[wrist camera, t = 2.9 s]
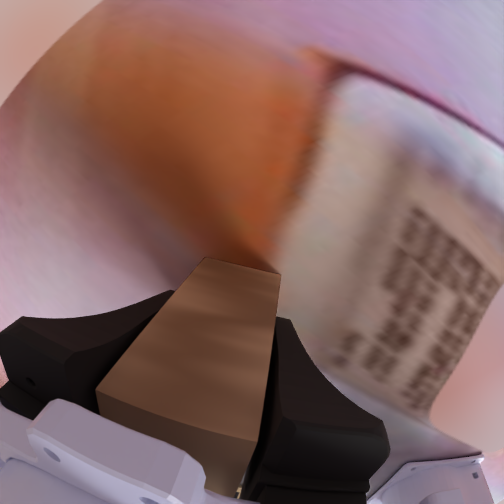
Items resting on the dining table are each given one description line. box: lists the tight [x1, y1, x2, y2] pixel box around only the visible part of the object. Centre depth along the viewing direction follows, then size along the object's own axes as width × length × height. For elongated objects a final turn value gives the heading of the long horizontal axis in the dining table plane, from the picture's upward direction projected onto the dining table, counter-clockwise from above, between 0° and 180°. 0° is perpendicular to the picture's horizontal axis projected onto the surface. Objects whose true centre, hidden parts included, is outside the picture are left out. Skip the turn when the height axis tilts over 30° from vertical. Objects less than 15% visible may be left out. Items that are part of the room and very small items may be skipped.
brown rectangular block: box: [95, 257, 281, 498], centre depth 10 cm, size 4×4×9 cm
